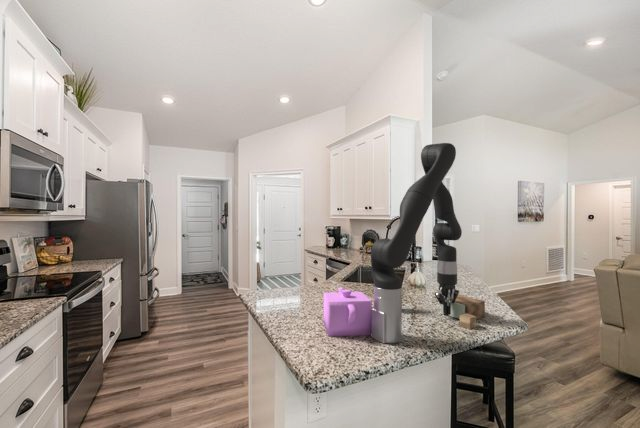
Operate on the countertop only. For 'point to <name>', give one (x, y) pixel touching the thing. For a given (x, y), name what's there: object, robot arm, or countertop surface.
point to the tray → (456, 310)
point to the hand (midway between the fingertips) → (447, 314)
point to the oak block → (468, 321)
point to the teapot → (347, 313)
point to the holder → (472, 305)
